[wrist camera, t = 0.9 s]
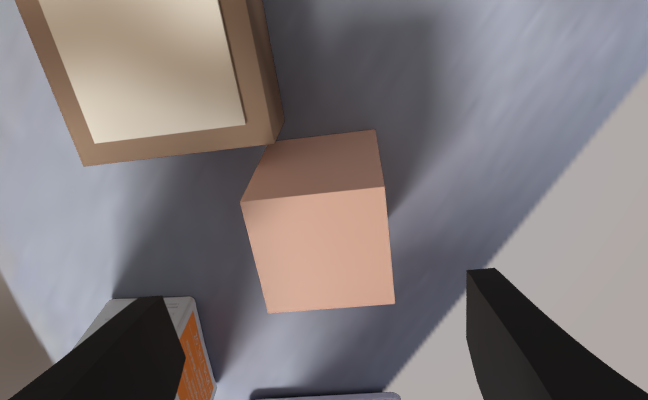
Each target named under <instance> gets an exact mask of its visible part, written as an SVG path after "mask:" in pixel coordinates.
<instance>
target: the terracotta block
mask: <svg viewBox="0 0 648 400" xmlns="http://www.w3.org/2000/svg"><path fill="white" fill-rule="evenodd" d="M240 205H241V209H242V213H243V217H244V220H245V224H246V228H247V232H248V236H249V240H250V244H251V248H252V252H253V256H254V260H255V264H256V268H257V271H258V275H259V279H260V283H261V287H262V291H263V295H264V299H265V303H266V307H267V311H268V313H281V312H294V311H308V310H321V309H334V308H347V307H360V306H373V305H387V304H395V296H394V285H393V274H392V263H391V252H390V241H389V229H388V218H387V207H386V196H385V186H384V180H383V173H382V167H381V161H380V155H379V149H378V143H377V137H376V131H375V129H373V130H365V131H356V132H348V133H340V134H331V135H323V136H315V137H306V138H298V139H290V140H282V141H275V144H268V145H267V147H266V149H265V151H264V153H263V155H262V158H261V160H260V162H259V164H258V166H257V168H256V170H255V172H254V174H253V176H252V178H251V180H250V182H249V184H248V186H247V188H246V190H245V192H244V194H243V196H242V198H241V200H240Z"/></svg>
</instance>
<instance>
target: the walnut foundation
mask: <svg viewBox="0 0 648 400" xmlns="http://www.w3.org/2000/svg"><path fill="white" fill-rule="evenodd" d="M15 2H16V5H17V7H18V9H19V12H20V14H21V17H22V19H23V21H24V24H25V26H26V29H27V31H28V34H29V36H30V38H31V41H32V43H33V46H34V48H35V50H36V53H37V55H38V58H39V60H40V63H41V65H42V67H43V70H44V72H45V75H46V77H47V79H48V82H49V84H50V87H51V89H52V92H53V94H54V96H55V99H56V101H57V104H58V106H59V108H60V111H61V113H62V116H63V118H64V121H65V123H66V125H67V128H68V130H69V133H70V135H71V137H72V140H73V142H74V145H75V147H76V150H77V152H78V154H79V157H80V159H81V162H82V164H83V166H92V165H101V164H109V163H117V162H126V161H134V160H143V159H151V158H159V157H168V156H176V155H184V154H193V153H201V152H209V151H218V150H226V149H234V148H243V147H251V146H259V145H268V144H275V141H276V139H277V137H278V135H279V133H280V130H281V128H282V126H283V124H284V121H285V119H284V114H283V108H282V103H281V98H280V92H279V87H278V82H277V76H276V71H275V66H274V60H273V55H272V49H271V44H270V39H269V33H268V28H267V23H266V17H265V12H264V7H263V1H262V0H15Z"/></svg>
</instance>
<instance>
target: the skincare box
mask: <svg viewBox="0 0 648 400" xmlns="http://www.w3.org/2000/svg"><path fill="white" fill-rule="evenodd" d="M136 299H137V298H130V299H112V300H109V302H108V303H107V304H106V305H105V307H104V308H103V309H102V311H101V312H100V313H99V315H98V316H97V317H96V319H95V320H94V321H93V323H92V324H91V325H90V327H89V328H88V329H87V331H86V332H85V333H84V335H83V336H82V337H81V339H80V340H79V341H78V343H77V344H76V345H75V347H74V348H76V347H77V346H78V345H79V344H81V343H82V342H83V341H84V340H85V339H87V338H88V337H89V336H90V335H92V334H93V333H94V332H95V331H96V330H98V329H99V328H100V327H101V326H103V325H104V324H105V323H106V322H107V321H109V320H110V319H111V318H112V317H114V316H115V315H116V314H117V313H119V312H120V311H121V310H122V309H124V308H125V307H126V306H128V305H129V304H130V303H132V302H133V301H135V300H136ZM163 299H164V301H165V304H166V307H167V309H168V312H169V314H170V317H171V320H172V322H173V325H174V327H175V330H176V333H177V335H178V338H179V340H180V343H181V346H182V348H183V351H184V353H185V356H186V360H185V364H184V368H183V372H182V376H181V380H180V383H179V387H178V391H177V394H176V398H175V400H213V399H214V396H215V393H216V389H217V385H216V382H215V379H214V376H213V372H212V368H211V364H210V361H209V357H208V354H207V350H206V346H205V343H204V338H203V333H202V329H201V325H200V321H199V316H198V312H197V308H196V303H195V300H194V298H192V297H190V296H188V297H166V298H163ZM74 348H73V349H74Z"/></svg>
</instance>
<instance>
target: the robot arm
mask: <svg viewBox="0 0 648 400" xmlns="http://www.w3.org/2000/svg"><path fill="white" fill-rule="evenodd" d="M466 311H467V312H466V315H467V320H466V321H467V322H466V335H467V336H466V338H467V343H468V347H469V351H470V355H471V359H472V363H473V367H474V371H475V375H476V379H477V382H478V385H479V388H480V390H481V393H482V396H483V399H484V400H648V393H646V392H645V391H643V390H642V389H640V388H639V387H637V386H636V385H634V384H633V383H632V382H630V381H629V380H627V379H626V378H624V377H623V376H621V375H620V374H619V373H617V372H616V371H615V370H613V369H612V368H611V367H609V366H608V365H607V364H605V363H604V362H602V361H601V360H600V359H599V358H597V357H596V356H595V355H594V354H592V353H591V352H590V351H588V350H587V349H586V348H585V347H583V346H582V345H581V344H580V343H579V342H577V341H576V340H575V339H574V338H572V337H571V336H570V335H569V334H568V333H566V332H565V331H564V330H563V329H562V328H561V327H559V326H558V325H557V324H556V323H555V322H554V321H552V320H551V319H550V318H549V317H548V316H547V315H545V314H544V313H543V312H542V311H541V310H540V309H538V307H536V306H535V305H534V304H533V303H532V302H531V301H530V300H529V299H528V298H527V297H526V296H524V295H523V294H522V293H521V292H520V291H519V290H518V289H517V288H516V287H515V286H514V285H513V284H512V283H511V282H510V281H509V280H508V279H506V278H505V277H504V276H503V275H502V274H501V273H500V272H499V271H497V270H496V269H495V268H488V269H476V270H467V310H466ZM185 360H186V356H185V353H184V351H183V348H182V346H181V343H180V340H179V338H178V335H177V333H176V330H175V327H174V325H173V322H172V320H171V317H170V314H169V312H168V309H167V307H166V304H165V301H164V299H163V296H152V297H140V298H137V299H136V300H135V301H133V302H132V303H130V304H129V305H128V306H126V307H125V308H124V309H122V310H121V311H120V312H119V313H117V314H116V315H115V316H114V317H112V318H111V319H110V320H109V321H107V322H106V323H105V324H104V325H103V326H101V327H100V328H99V329H98V330H96V331H95V332H94V333H93V334H92V335H90V336H89V337H88V338H87V339H85V340H84V341H83V342H82V343H81V344H79V345H78V346H77V347H76V348H74V349H73V350H72V351H71V352H69V353H68V354H67V355H66V356H65V357H63V358H62V359H61V360H60V361H58V362H57V363H56V364H54V365H53V366H52V367H51V368H49V369H48V370H47V371H45V372H44V373H43V374H41V375H40V376H39V377H37V378H36V379H35V380H34V381H32V382H31V383H30V384H28V385H27V386H26V387H24V388H23V389H22V390H20V391H19V392H18V393H17V394H15V395H14V396H13V397H11V398H10V399H8V400H175V398H176V394H177V391H178V387H179V383H180V380H181V376H182V372H183V368H184V364H185ZM257 400H401V398H400V396H399V395H398V394H396V393H393V392H384V393H366V394H348V395H329V396H311V397H293V398H275V399H257Z"/></svg>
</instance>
